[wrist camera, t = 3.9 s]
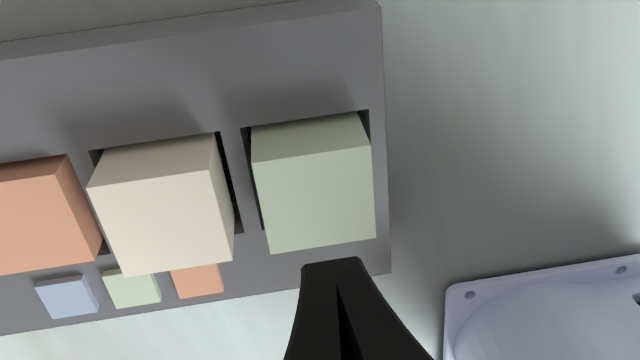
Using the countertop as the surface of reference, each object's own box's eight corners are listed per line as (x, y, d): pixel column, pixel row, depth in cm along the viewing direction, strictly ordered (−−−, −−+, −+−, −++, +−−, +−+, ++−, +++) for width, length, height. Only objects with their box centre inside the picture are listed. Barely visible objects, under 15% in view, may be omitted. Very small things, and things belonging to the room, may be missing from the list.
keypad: (367, -9, 16) (383, 10, 14) (380, 239, 21) (393, 278, 19) (-263, 78, 15) (-339, 111, 13) (-81, 313, 20) (-115, 360, 18)
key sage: (356, 109, 16) (370, 145, 14) (362, 195, 18) (376, 237, 16) (251, 125, 16) (250, 163, 14) (268, 210, 18) (270, 254, 16)
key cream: (213, 130, 16) (208, 169, 14) (234, 215, 18) (232, 260, 16) (106, 146, 16) (85, 188, 14) (138, 230, 18) (124, 277, 16)
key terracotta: (77, 136, 17) (54, 174, 15) (111, 217, 19) (94, 260, 17) (-26, 151, 17) (-64, 192, 15) (18, 231, 19) (-10, 277, 17)
